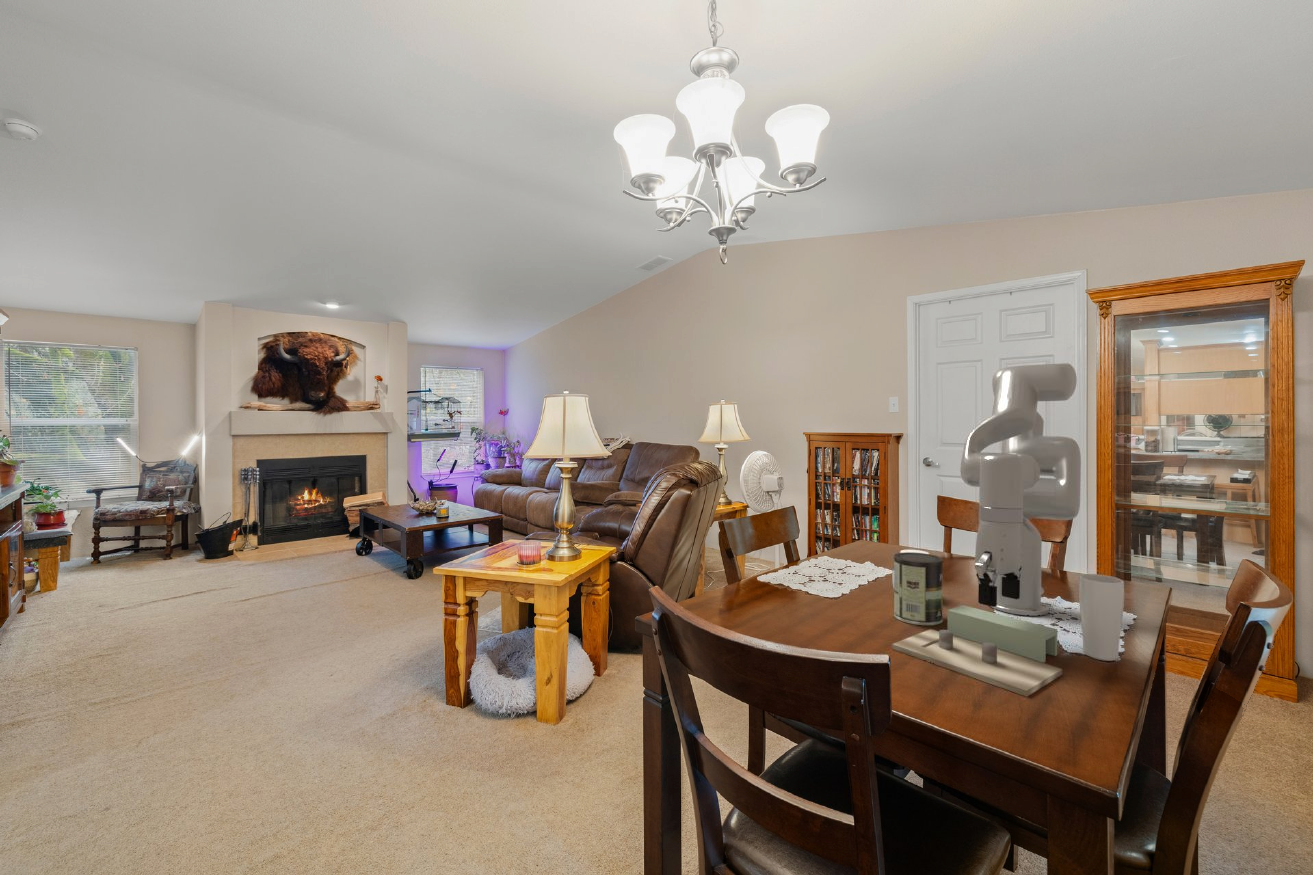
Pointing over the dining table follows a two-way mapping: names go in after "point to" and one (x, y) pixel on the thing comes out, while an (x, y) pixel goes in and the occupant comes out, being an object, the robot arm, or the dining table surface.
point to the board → (979, 661)
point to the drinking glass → (1101, 615)
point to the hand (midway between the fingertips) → (999, 601)
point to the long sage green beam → (1003, 632)
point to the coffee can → (918, 588)
